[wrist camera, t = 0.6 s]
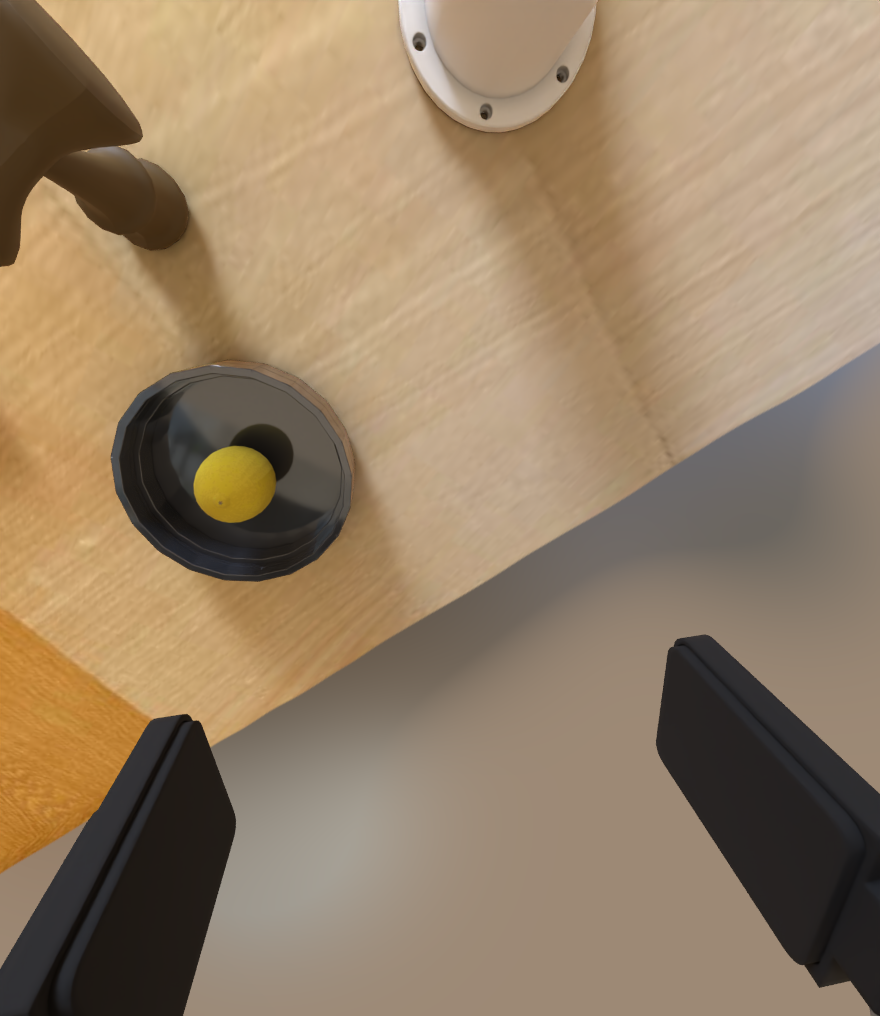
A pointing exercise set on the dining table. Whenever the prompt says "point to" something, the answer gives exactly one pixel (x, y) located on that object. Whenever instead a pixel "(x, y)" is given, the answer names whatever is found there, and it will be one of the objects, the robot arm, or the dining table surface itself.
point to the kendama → (73, 137)
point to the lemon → (234, 484)
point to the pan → (224, 423)
